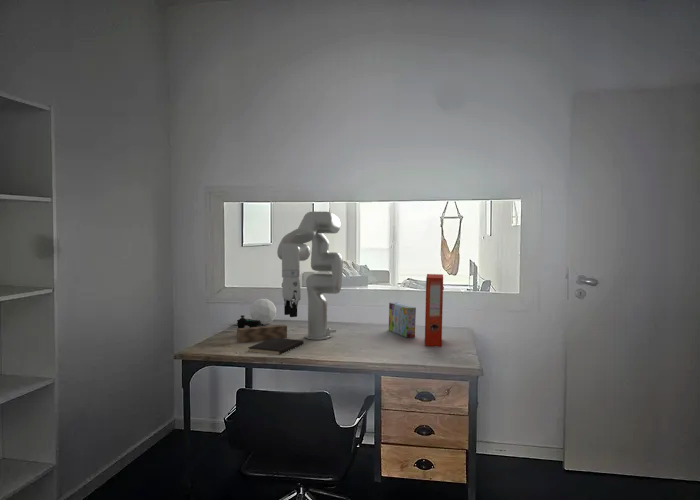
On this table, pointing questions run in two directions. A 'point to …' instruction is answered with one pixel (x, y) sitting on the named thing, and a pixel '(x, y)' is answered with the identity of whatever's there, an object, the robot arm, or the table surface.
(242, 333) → the brown wooden block
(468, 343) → the table surface
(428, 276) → the file binder
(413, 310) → the snack box
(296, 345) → the hardcover book
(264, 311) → the geometric sphere
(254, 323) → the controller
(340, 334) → the table surface
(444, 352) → the table surface
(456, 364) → the table surface
